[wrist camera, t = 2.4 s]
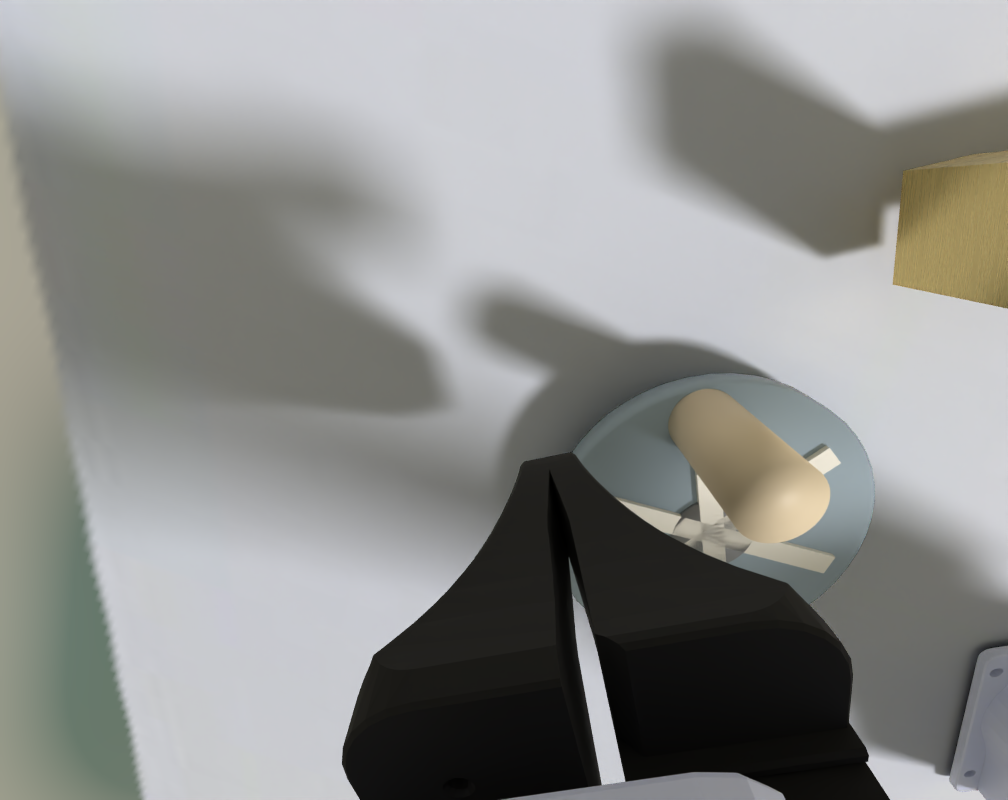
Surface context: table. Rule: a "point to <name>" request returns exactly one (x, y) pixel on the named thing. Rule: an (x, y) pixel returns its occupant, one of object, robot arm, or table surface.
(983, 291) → the hook rod
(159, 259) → the table surface
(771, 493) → the handwheel
